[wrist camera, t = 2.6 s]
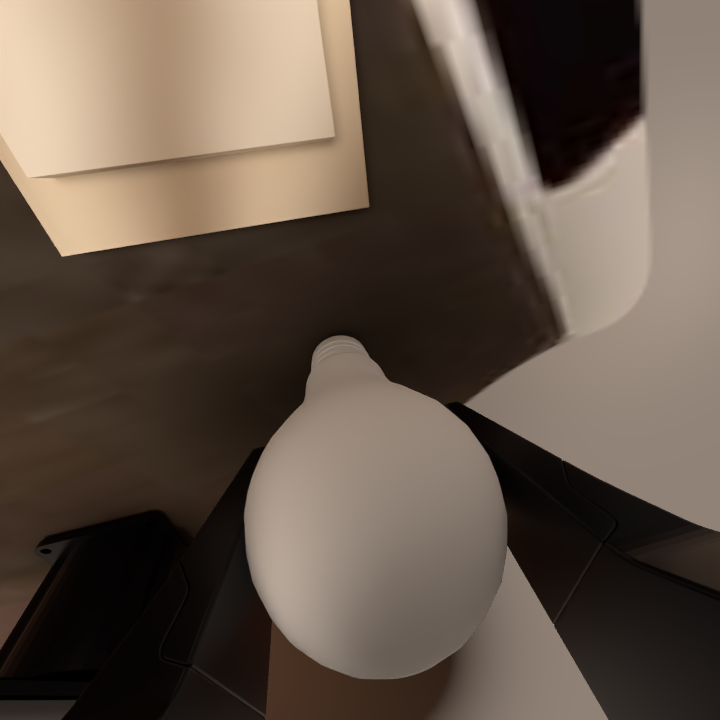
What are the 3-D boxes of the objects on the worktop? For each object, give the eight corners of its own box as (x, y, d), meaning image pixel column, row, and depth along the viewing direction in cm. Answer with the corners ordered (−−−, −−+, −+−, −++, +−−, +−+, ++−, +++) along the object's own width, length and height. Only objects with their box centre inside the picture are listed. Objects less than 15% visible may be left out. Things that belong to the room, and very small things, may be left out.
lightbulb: (241, 337, 13) (104, 723, 4) (361, 260, 12) (558, 509, 3) (319, 420, 16) (349, 740, 7) (418, 363, 15) (599, 638, 6)
